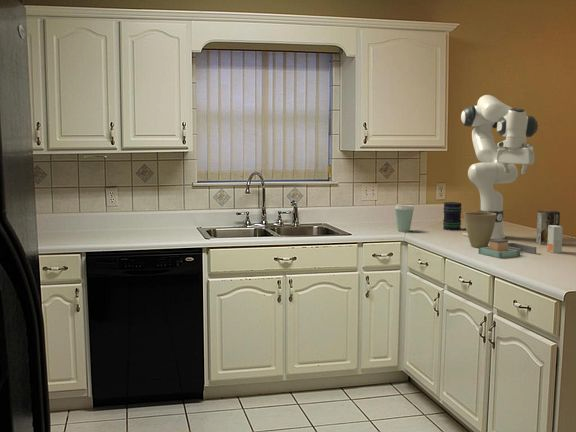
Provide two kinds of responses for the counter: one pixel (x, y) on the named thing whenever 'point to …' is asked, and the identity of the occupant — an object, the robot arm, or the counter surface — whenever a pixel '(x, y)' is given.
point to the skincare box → (554, 239)
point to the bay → (522, 248)
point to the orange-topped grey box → (498, 245)
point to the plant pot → (479, 227)
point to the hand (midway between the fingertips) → (514, 173)
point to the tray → (498, 253)
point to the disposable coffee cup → (404, 217)
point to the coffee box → (546, 224)
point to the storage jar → (452, 216)
